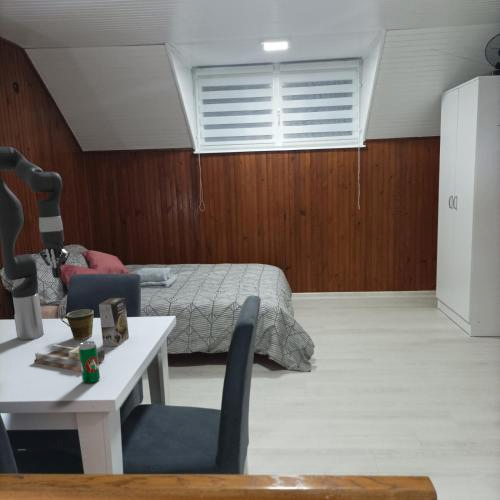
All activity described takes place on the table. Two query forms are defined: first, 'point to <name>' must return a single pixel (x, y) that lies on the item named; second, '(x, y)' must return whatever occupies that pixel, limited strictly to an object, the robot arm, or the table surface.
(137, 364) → the table surface
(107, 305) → the coffee box
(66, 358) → the shallow wooden tray
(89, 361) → the soda can
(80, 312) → the ceramic cup
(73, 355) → the birch block
